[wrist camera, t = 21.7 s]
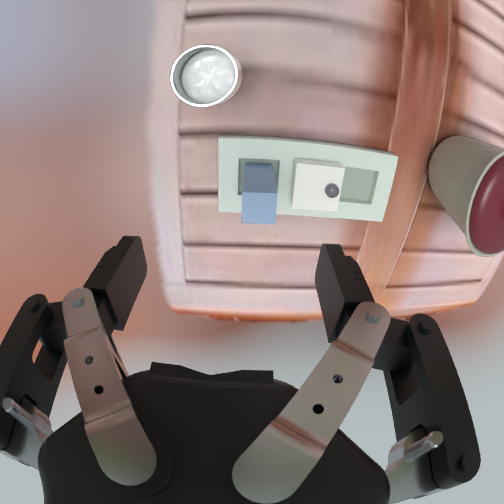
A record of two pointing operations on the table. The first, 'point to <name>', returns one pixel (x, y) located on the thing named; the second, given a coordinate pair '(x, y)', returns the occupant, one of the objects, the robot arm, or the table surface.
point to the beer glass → (205, 76)
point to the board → (287, 149)
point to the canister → (471, 190)
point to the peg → (259, 194)
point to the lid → (316, 185)
